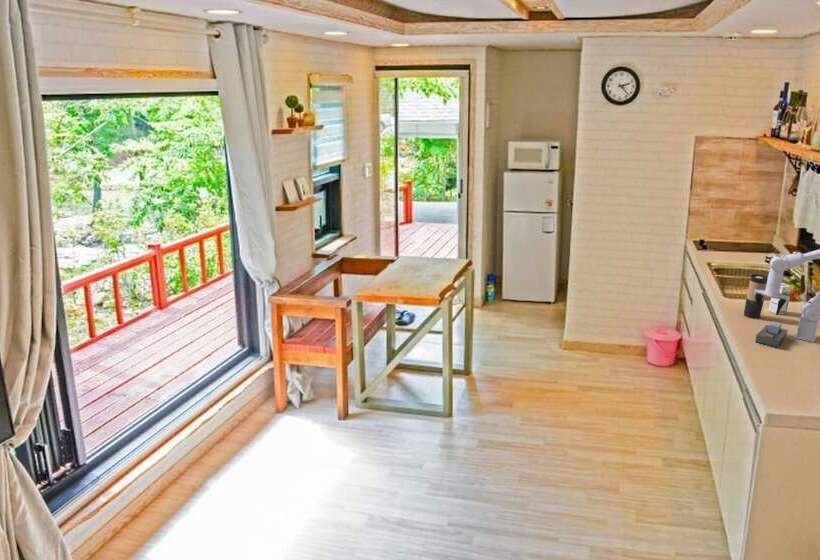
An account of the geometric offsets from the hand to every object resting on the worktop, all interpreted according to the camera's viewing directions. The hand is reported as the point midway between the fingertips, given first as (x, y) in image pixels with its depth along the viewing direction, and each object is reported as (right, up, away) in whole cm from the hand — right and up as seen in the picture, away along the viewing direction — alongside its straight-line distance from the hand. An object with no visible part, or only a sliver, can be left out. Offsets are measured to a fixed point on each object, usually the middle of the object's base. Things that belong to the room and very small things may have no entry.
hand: (767, 312), depth 328 cm
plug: (0, -11, -5) cm, 12 cm away
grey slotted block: (-2, -12, -7) cm, 14 cm away
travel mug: (+4, -3, +24) cm, 24 cm away
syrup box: (+20, -1, +32) cm, 37 cm away
